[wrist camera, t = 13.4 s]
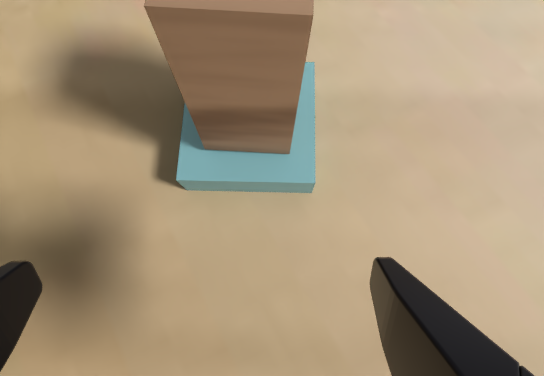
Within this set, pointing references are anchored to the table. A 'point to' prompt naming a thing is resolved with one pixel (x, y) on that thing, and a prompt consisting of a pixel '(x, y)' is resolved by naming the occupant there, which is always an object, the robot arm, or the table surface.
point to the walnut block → (237, 67)
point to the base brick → (253, 156)
